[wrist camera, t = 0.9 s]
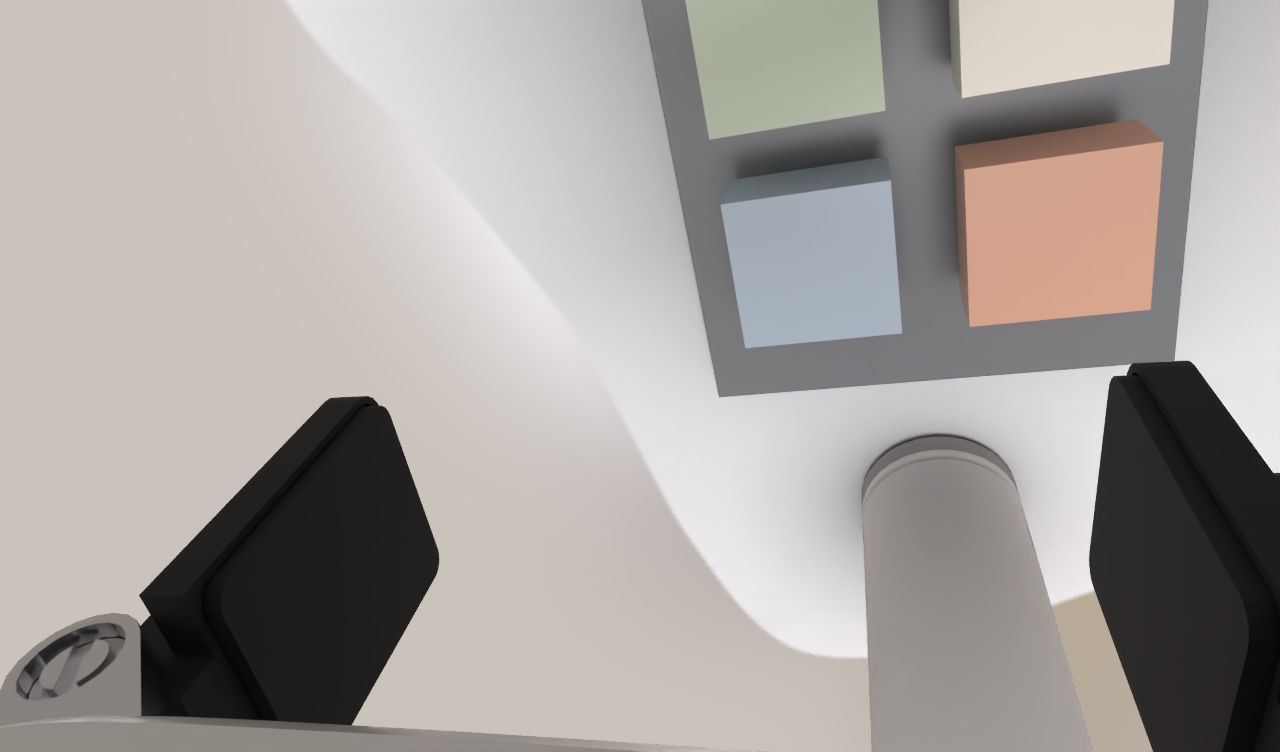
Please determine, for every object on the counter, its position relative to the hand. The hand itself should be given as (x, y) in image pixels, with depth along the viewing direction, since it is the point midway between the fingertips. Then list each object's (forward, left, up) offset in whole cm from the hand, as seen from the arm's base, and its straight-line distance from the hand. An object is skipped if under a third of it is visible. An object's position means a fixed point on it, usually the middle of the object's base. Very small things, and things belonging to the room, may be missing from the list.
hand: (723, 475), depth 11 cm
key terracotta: (-7, +4, -18) cm, 20 cm away
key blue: (0, +4, -18) cm, 19 cm away
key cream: (-7, -3, -18) cm, 20 cm away
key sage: (0, -3, -18) cm, 19 cm away
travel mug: (-4, +17, -22) cm, 28 cm away
